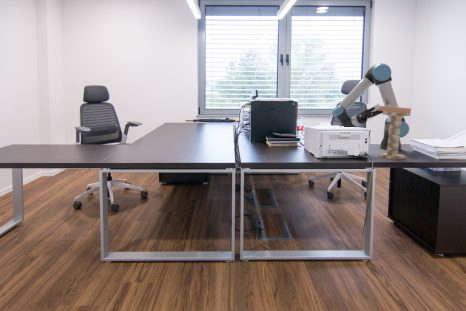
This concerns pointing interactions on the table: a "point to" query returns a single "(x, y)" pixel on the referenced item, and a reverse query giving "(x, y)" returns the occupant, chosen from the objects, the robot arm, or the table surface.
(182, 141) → the table surface
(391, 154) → the pedestal stand
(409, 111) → the bar
